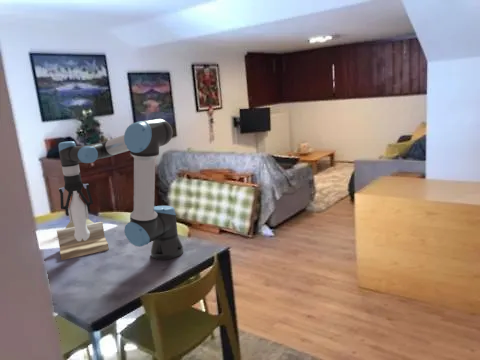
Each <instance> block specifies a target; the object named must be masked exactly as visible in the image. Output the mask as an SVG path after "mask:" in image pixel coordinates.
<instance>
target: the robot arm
mask: <svg viewBox="0 0 480 360" xmlns="http://www.w3.org/2000/svg"><path fill="white" fill-rule="evenodd" d="M173 134H174V133H173V128H172V125H171V124H170V123H169V122H168V121H166V120H165V119H162V118H154V119H149V120H148V119H147V120H139V121H136V122H133V123H131V124H130V125H129V126H127V127H126V129H125V132H124V134H123V135H120V136H118V137H114V138H111V139H108V140H105V141H104V140H103V141H101V142H96V143H92V144H85V145H77V144H76V142H75V141H74V140H73V141H72V140H70V141H68V140H67V141H62V142H59V143H58V146H57V147H58V153H59V158H60V159H59V160H60V163H61V170H62V174H63V181H64V186H62V187H59V188H58V191H59V195H60V197H59V198H60V199H59V200H60V209H61V210H64V211H65V215H66V217H69V222H70V223H72V220H71V214H70V208H69V207H70V203H71V199H72V196H71V195H72V194H73V191H77V193H79V196H80V198H82V201H83V202H84V204H85V209H86V215H87V219H89V220H90V214H89V213H90V212H91V206H90V205H93V204H94V202H93V197H92V195H91V192H90V185H89V183H83V182H82V181H83V180H82V174H81V170H80V163H81V164H82V163H84V164H91V163H94V162H95V161H96V160H100V159H104V158H105V159H106V158H110V157H113V156H115V155H118V154H122V153H127V152H129V151H130V152H129V154H130V155H131V156H132V157H133V211H132V212H130V214H129V222H128V223H126V225H124V235H125V237H126V239H127V240H128V241H129V243H130V244H131V245H133V246H135V247H144V246H146V245H148V244H150V243H151V242H152V244H151V247H150V248H151V249H150V254H151V258H153V259H154V260H163V261H164V260H171V259H175V258H177V257H179V256H182V254H183V253H184V246H183V244H182V241H181V239H180V238H179V234H178V223H177V214H176V211H175V208H174V207H173V206H170V205H157V206H156V205H155V190H156V189H155V185H156V183H155V182H156V158H157V157H158V156H160V147H162V146H165V145H167V144H168V143H170V142H171V139H172V138H173ZM83 188H84V190H85V189H86V194H87V198H88V199H87V198H86V197H85V196H86V195H84V193H83V192H82V190H83ZM65 191H67V192H68V193H67V198H66V201H65V202H66V203H65V204H64V193H65Z"/></svg>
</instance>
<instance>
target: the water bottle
mask: <svg viewBox="0 0 480 360" xmlns="http://www.w3.org/2000/svg"><path fill="white" fill-rule="evenodd" d="M81 198H82V197H81V196H80V194H79V193H77V191H73V194H71V199H70V202H69V206H68V208H70V213H71V219H72V221H73V223H74V226H75V234H74V237H75V238H76V240H77V241H81V240H82V238H83V240H84V241H85V240H87V239H88V238H89V236H90V232H89V230H88V228H87V225H86V219H87V215H86V209H85V205H86V203H85V202H84V200H83V199H81Z"/></svg>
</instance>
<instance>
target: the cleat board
mask: <svg viewBox="0 0 480 360" xmlns="http://www.w3.org/2000/svg"><path fill="white" fill-rule="evenodd" d="M103 224H104V222H103V221H97V222H93V223H91V224H86V225H87V228H88V230H89V232H90V236H89V238H88V239H87V240H85V241H84V240H83V238H82V240H81V241H77V240H76V238H75V237H74V234H75V227H70V228H66V227H65V228H61V229H57V230H56V234H57V242H58V246H59V254H60V259H61V261H64V260H68V259H73V258H79V257H81V256H86V255H91V254H95V253H100V252H104V251H109V249H110V248H109V243H108V241H107V238H106V236H105V235H106V234H105V229H104V225H103Z"/></svg>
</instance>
